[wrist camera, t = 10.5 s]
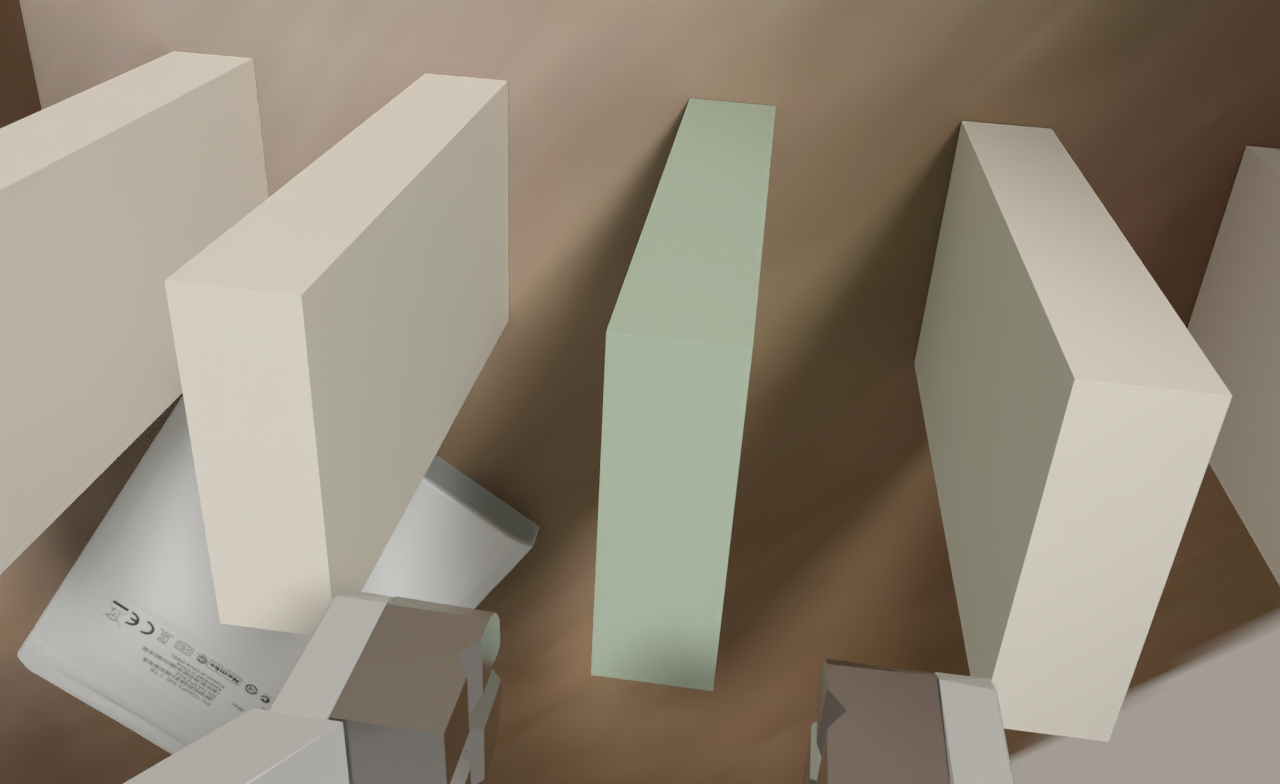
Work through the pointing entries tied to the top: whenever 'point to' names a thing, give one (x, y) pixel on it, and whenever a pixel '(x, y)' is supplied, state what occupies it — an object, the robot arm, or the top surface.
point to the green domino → (680, 402)
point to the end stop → (15, 67)
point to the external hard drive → (187, 607)
